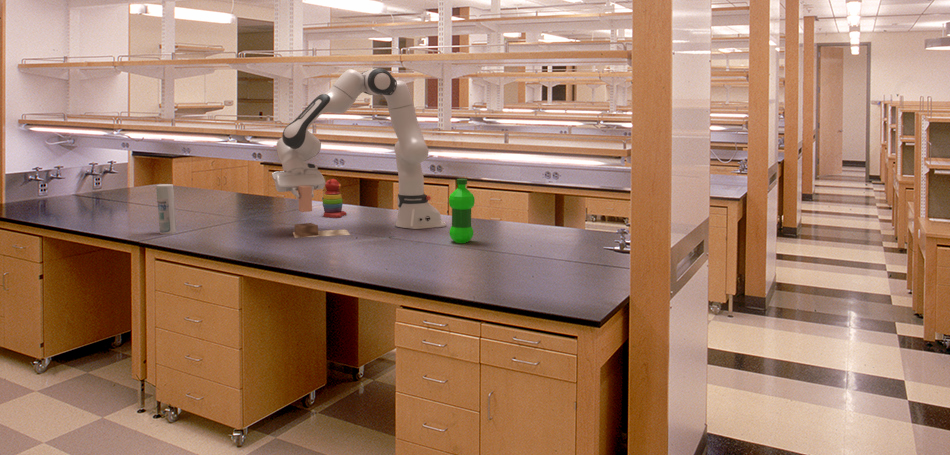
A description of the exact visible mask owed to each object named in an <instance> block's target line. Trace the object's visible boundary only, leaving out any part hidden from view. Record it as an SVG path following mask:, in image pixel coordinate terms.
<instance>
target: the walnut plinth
mask: <svg viewBox="0 0 950 455" xmlns="http://www.w3.org/2000/svg"><path fill="white" fill-rule="evenodd" d="M318 231H319V225H318V224H316V223H313V222H307V223H306V222H305V223H295V224H294V232H295V234H296V235H298V236H301V237H300V238H307V237H306V236H315V235H318Z"/></svg>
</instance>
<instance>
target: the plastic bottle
mask: <svg viewBox="0 0 950 455" xmlns="http://www.w3.org/2000/svg"><path fill="white" fill-rule="evenodd" d="M467 184H468V178H457V179H456V185H457V188H456V189H455V190H454V191H453V192H452V193H450V194H449V196H448V205H449V207H450V208H451V226H450V229H449V238H451V240H453V241H454V243H457V244H466V242H467V243H468V242H470V241H471V240H472V238H473V236H474V228H473V227H472V209H473V207H474V206H475V200H476V199H475V195H474V194H473V193H472V192H471V191H470V190H469V189H468V188H467Z"/></svg>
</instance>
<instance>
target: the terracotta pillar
mask: <svg viewBox="0 0 950 455" xmlns="http://www.w3.org/2000/svg"><path fill="white" fill-rule="evenodd" d="M297 192H298V193H300V194H301V199H297V201H298V202H297V203H298V211H299V212H301V213H308V212H309V213H310V212H313V200H312V199H313V198H312V188H311V186H298V191H297Z"/></svg>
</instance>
